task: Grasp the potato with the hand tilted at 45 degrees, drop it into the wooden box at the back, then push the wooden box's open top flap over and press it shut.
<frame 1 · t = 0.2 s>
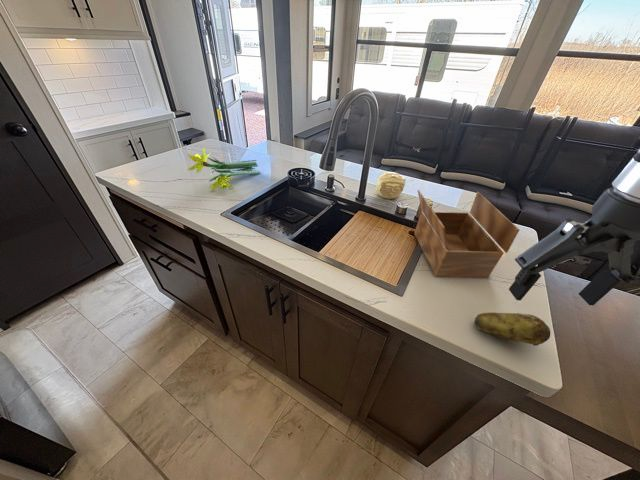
hand: (549, 297, 48), 17 cm above the worktop, tool pointing down, fingers open, 13 cm apart
sculpture: (387, 195, 114), on the worktop
daffodil flowers: (231, 182, 119), on the worktop
flap: (431, 217, 75), point 14 cm above the worktop, hinge at 115.0°
potato: (502, 335, 60), on the worktop
wooden box: (447, 253, 83), on the worktop
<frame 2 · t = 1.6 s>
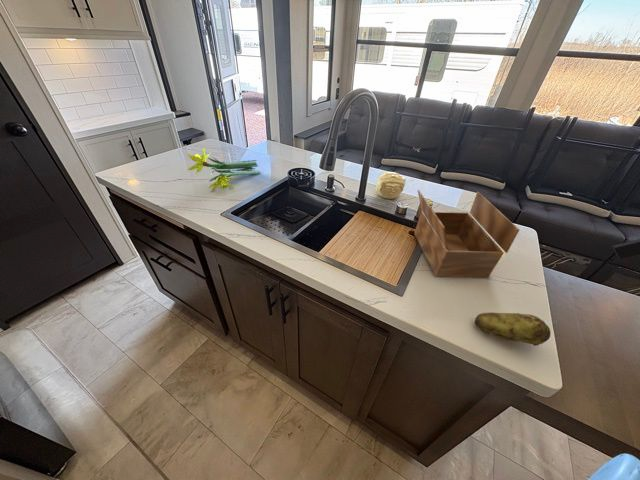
hand: (632, 276, 42), 24 cm above the worktop, tool tilted 45°, fingers open, 13 cm apart
nothing on the worktop moved.
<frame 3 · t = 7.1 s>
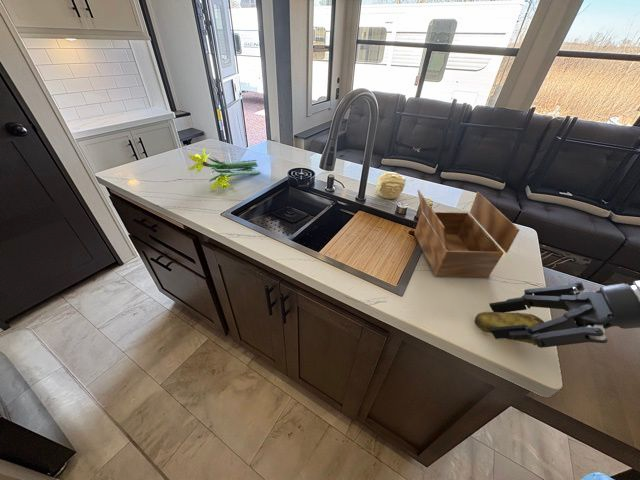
hand: (492, 320, 59), 3 cm above the worktop, tool tilted 45°, fingers closed on potato, 7 cm apart
potato: (501, 334, 60), on the worktop, touching gripper
everything else where it was.
when the fingers open (14 cm above the worktop, at t = 15.2 s): potato drops 10 cm, resting on wooden box.
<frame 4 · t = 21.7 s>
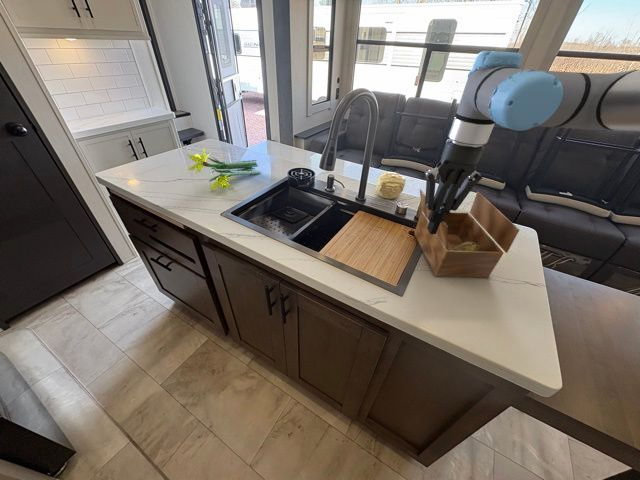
hand: (431, 231, 68), 14 cm above the worktop, tool pointing down, fingers closed
flap: (432, 217, 75), point 14 cm above the worktop, hinge at 109.9°, touching gripper
potato: (453, 264, 78), resting on wooden box
everything else where it was.
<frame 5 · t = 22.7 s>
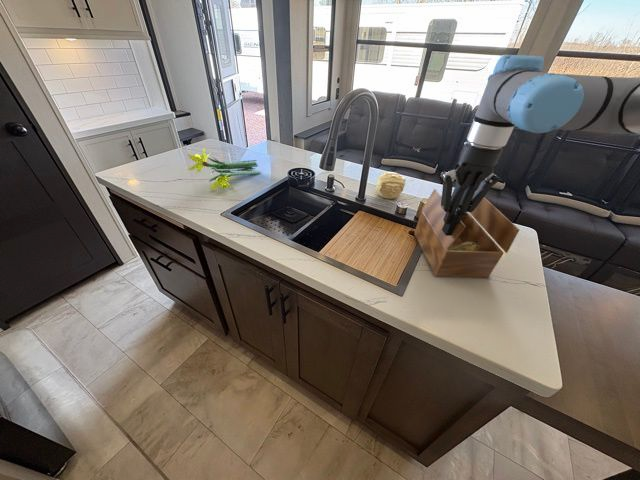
hand: (446, 232, 69), 14 cm above the worktop, tool pointing down, fingers closed
flap: (440, 216, 75), point 14 cm above the worktop, hinge at 75.7°, touching gripper
everything else where it was.
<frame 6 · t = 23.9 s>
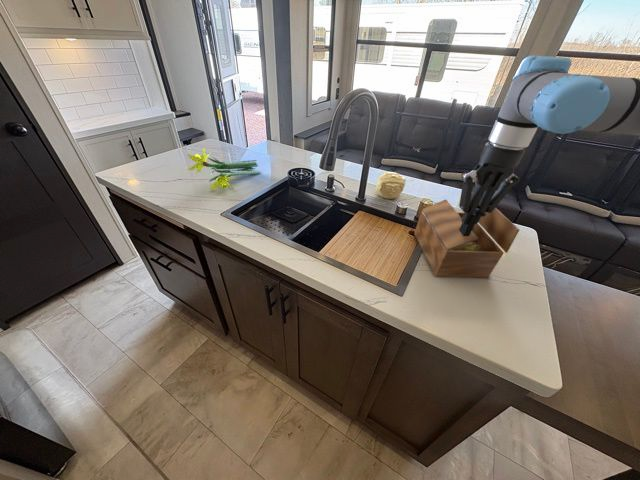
hand: (463, 233, 69), 14 cm above the worktop, tool pointing down, fingers closed
flap: (446, 222, 76), point 12 cm above the worktop, hinge at 30.6°
everything else where it was.
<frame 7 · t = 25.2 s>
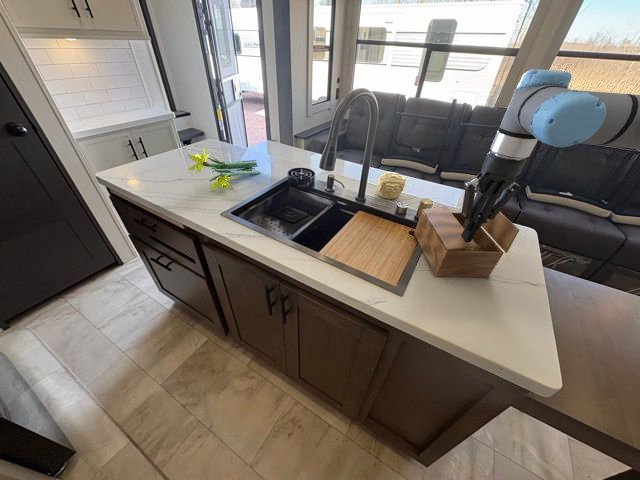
hand: (465, 238, 70), 12 cm above the worktop, tool pointing down, fingers closed
flap: (446, 226, 77), point 11 cm above the worktop, hinge at 9.5°, touching gripper
everything else where it was.
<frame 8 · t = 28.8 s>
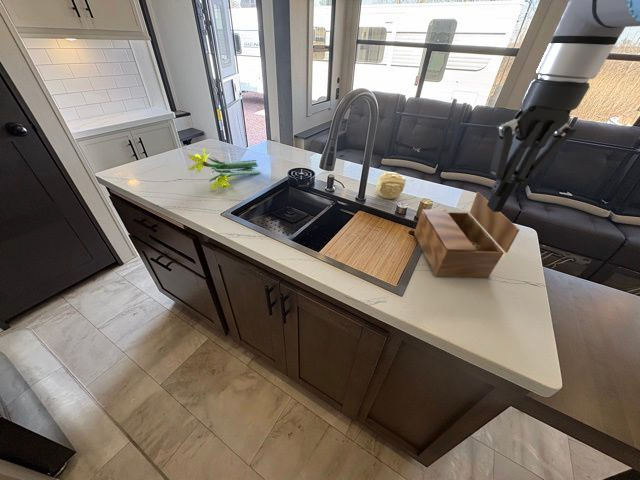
hand: (493, 208, 54), 26 cm above the worktop, tool pointing down, fingers closed
flap: (446, 227, 77), point 10 cm above the worktop, hinge at 0.6°
everything else where it was.
at the end: potato inside the target area in the wooden box (5.9 cm from its centre), point 0.3 cm above the wooden box's base; flap at +1° (first picture: +115°); the gripper is holding nothing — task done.
